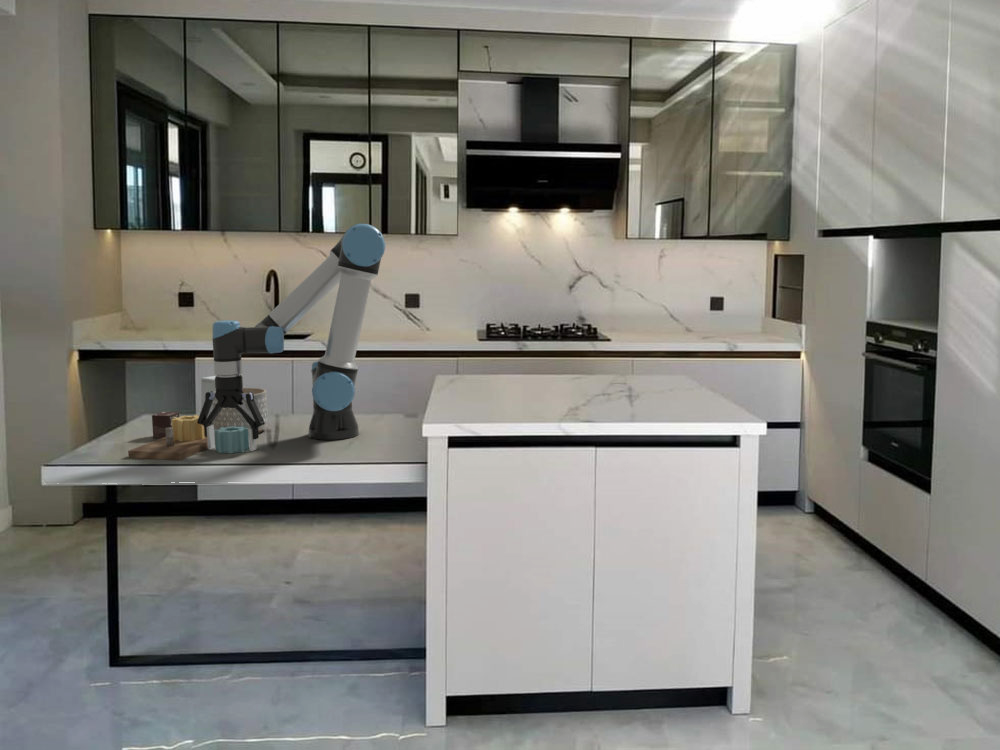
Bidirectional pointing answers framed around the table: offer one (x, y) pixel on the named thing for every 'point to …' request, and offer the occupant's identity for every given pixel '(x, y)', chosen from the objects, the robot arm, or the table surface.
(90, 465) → the table surface
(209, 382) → the skincare box
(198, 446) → the gear board
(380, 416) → the table surface
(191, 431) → the gear out
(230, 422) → the planter
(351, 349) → the robot arm
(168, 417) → the box
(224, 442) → the gear
